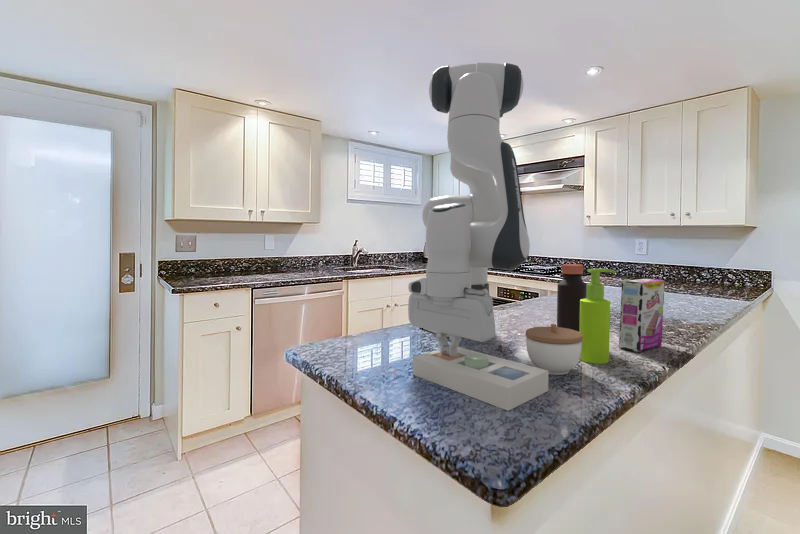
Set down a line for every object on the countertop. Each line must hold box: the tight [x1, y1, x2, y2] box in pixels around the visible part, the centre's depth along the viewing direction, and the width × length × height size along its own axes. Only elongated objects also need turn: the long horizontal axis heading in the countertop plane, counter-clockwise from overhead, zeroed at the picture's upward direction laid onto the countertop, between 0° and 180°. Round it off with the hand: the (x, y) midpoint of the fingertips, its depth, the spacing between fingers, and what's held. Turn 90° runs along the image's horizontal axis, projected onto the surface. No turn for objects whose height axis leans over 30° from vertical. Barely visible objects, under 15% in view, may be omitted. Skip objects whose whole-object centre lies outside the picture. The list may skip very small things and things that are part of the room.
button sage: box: [464, 355, 489, 370], centre depth 72 cm, size 4×4×3 cm
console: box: [412, 346, 549, 412], centre depth 72 cm, size 22×12×4 cm, turn 40°
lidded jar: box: [525, 323, 583, 376], centre depth 79 cm, size 11×11×9 cm
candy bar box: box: [618, 278, 666, 353], centre depth 94 cm, size 11×5×16 cm, turn 123°
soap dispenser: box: [579, 267, 618, 365], centre depth 84 cm, size 6×7×20 cm
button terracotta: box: [437, 353, 460, 361], centre depth 78 cm, size 4×4×3 cm
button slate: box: [496, 368, 522, 380], centre depth 67 cm, size 4×4×3 cm
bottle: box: [556, 263, 587, 332], centre depth 98 cm, size 7×7×20 cm
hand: (448, 355), depth 77 cm, fingers closed, pressing on button terracotta
